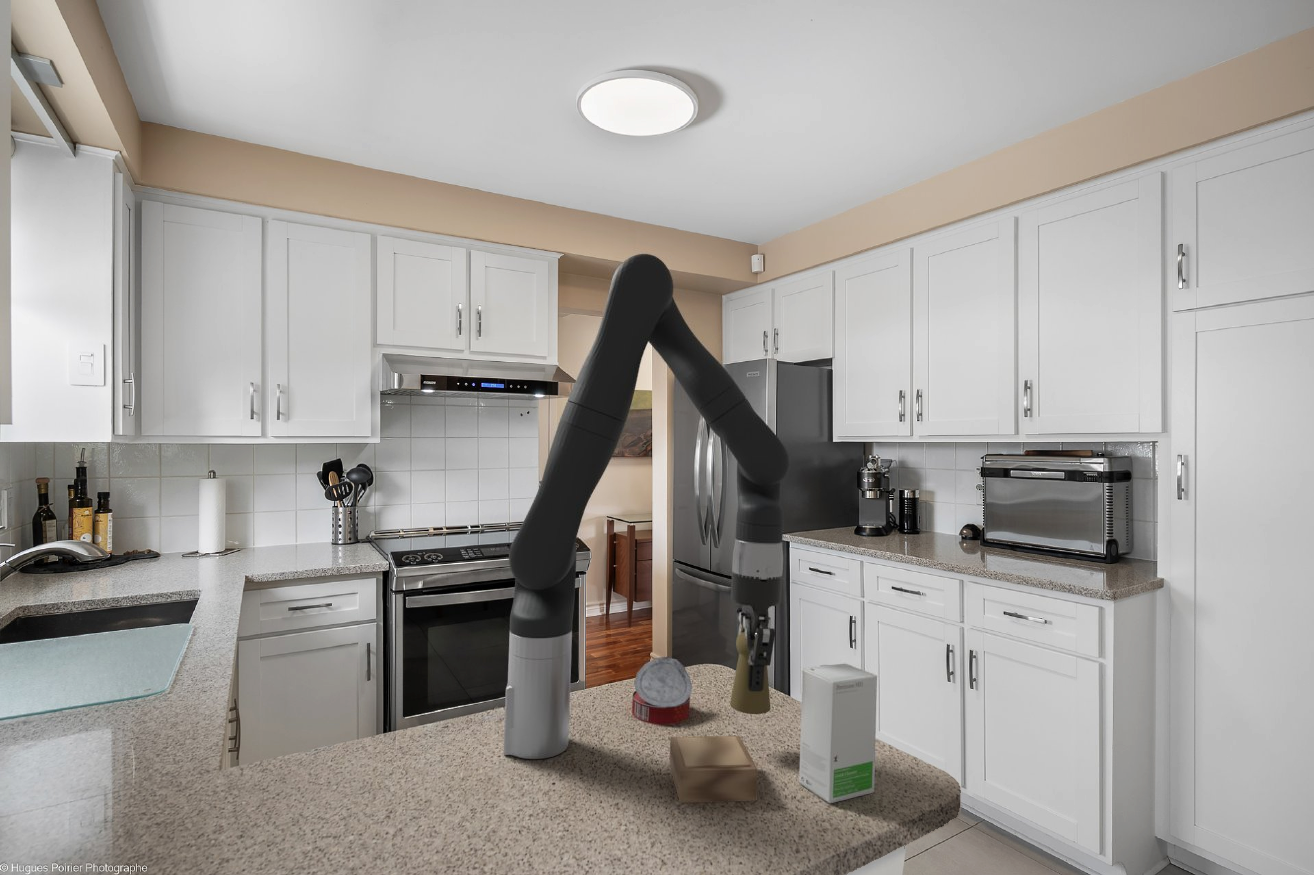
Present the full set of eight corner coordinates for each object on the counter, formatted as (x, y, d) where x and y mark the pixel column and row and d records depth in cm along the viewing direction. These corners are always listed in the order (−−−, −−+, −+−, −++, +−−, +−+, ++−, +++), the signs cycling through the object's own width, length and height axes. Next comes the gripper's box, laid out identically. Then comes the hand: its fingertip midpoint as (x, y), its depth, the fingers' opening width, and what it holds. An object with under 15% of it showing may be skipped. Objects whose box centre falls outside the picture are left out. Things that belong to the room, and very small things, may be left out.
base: (679, 802, 85) (680, 769, 85) (669, 765, 95) (670, 735, 95) (756, 800, 86) (757, 767, 86) (738, 764, 96) (739, 734, 96)
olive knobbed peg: (769, 716, 97) (773, 640, 97) (728, 711, 98) (732, 635, 98) (771, 701, 103) (774, 629, 103) (731, 696, 104) (735, 625, 104)
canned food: (686, 736, 116) (714, 689, 114) (655, 750, 107) (685, 700, 106) (641, 691, 122) (667, 647, 120) (608, 701, 113) (636, 654, 112)
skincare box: (828, 806, 85) (832, 683, 85) (795, 782, 91) (798, 667, 91) (877, 792, 89) (880, 674, 89) (842, 770, 95) (845, 660, 95)
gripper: (722, 561, 107) (717, 669, 107) (744, 579, 93) (737, 703, 93) (768, 563, 108) (763, 669, 108) (796, 580, 94) (790, 703, 94)
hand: (751, 684), depth 100 cm, fingers closed on olive knobbed peg, 4 cm apart
